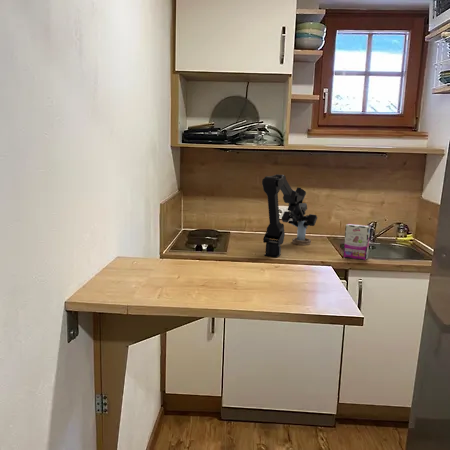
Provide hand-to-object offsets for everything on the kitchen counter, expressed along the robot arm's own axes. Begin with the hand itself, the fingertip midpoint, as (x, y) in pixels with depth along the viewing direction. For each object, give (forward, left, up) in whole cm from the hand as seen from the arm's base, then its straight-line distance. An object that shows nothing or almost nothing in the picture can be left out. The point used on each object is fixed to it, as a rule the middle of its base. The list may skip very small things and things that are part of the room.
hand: (302, 227), depth 258 cm
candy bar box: (+32, -18, -9) cm, 38 cm away
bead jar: (0, -1, -7) cm, 7 cm away
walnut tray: (0, 0, -9) cm, 9 cm away
